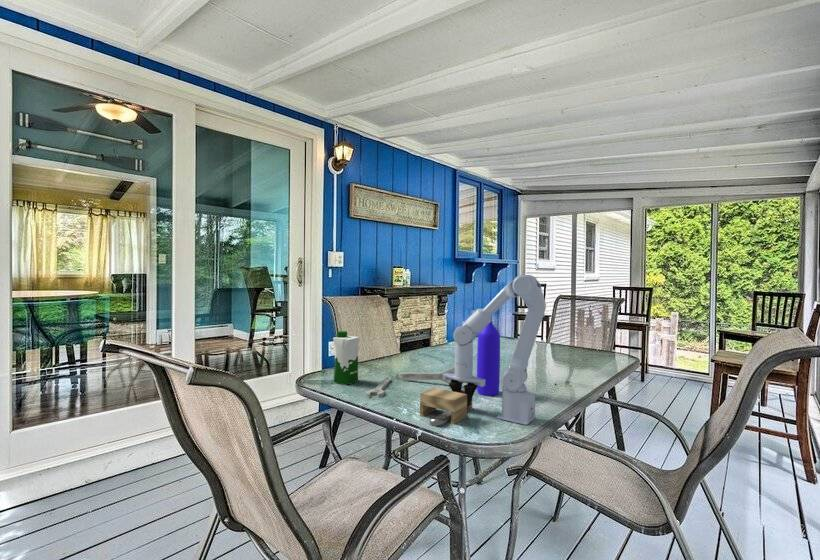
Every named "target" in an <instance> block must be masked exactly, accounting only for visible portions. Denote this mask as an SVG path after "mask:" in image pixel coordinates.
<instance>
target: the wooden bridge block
mask: <svg viewBox="0 0 820 560" xmlns="http://www.w3.org/2000/svg"><path fill="white" fill-rule="evenodd" d="M419 399H420V400H419V402H420V403H419V416H420V417H425V416H427V415H428V414H431V413H432V412H435V411H437V409H439V410H442V411H445V412H447V411H451V420H450V424H451V425H455V424H457V423H459V422H461V421H462V420H464V419H466V418H468V417H467V415H468V411H467V394H463V393H458V392H453V391H452V390H449V389H443V388H438V387H432V388H430V389H428V390H425V391H421V392H420V393H419Z"/></svg>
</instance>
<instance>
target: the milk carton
mask: <svg viewBox="0 0 820 560" xmlns="http://www.w3.org/2000/svg"><path fill="white" fill-rule="evenodd" d="M360 338H361V337H360V336H355V335H348V331H346V330H340V331H339V330H338V331H337V332H336V336H335V337H333V338H332V340H333V345H334V346H333V347H334V373H333V383H334V382H337V383H336V384H340V383H344V384H343V385H347V384H349V385H351V384H350V383H352V384H353V382H354V383H356V382H358V381H359V343H360ZM357 380H358V381H357ZM355 381H356V382H355Z"/></svg>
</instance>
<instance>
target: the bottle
mask: <svg viewBox="0 0 820 560" xmlns="http://www.w3.org/2000/svg"><path fill="white" fill-rule="evenodd" d="M476 353H477V354H476V355H477V356H476V359H477V360H476V377H478V378H481V379H485V386H483V387H481V386H479V385H478V387H477V388H476V391H477V393H478V394H479V395H480V396H484V397H494V396H498V395H499V392H500V379H501V378H500V374H501V371H500V370H501V367H500V366H501V335H500V332H499V330H498V329H497V328H496V325H494V324H493V314H492V315H491V322H490V323H489V324H488V325H487V326H486V327H485V328H484V329H483V330H482V331H481V332H480V333H479V334H478V335H477V352H476Z"/></svg>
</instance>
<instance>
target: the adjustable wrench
mask: <svg viewBox="0 0 820 560" xmlns="http://www.w3.org/2000/svg"><path fill="white" fill-rule="evenodd" d="M390 381H391V382H392V378H391V377H385V378H383V380H382V381H381V382H380V383H379V384H378V385H377V386H376V387H375V388H373V389H369V390H366V391H365V397H366V398H368V397H369V398H371V396H377V397H378V398H382V397H383V396H384V394H385V395H386V391H385V390H384V389H386V387H387V386H388V385H389V384H390V383H391V382H390ZM389 382H390V383H389ZM388 383H389V384H388ZM370 395H371V396H370ZM369 398H368V399H369Z"/></svg>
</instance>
